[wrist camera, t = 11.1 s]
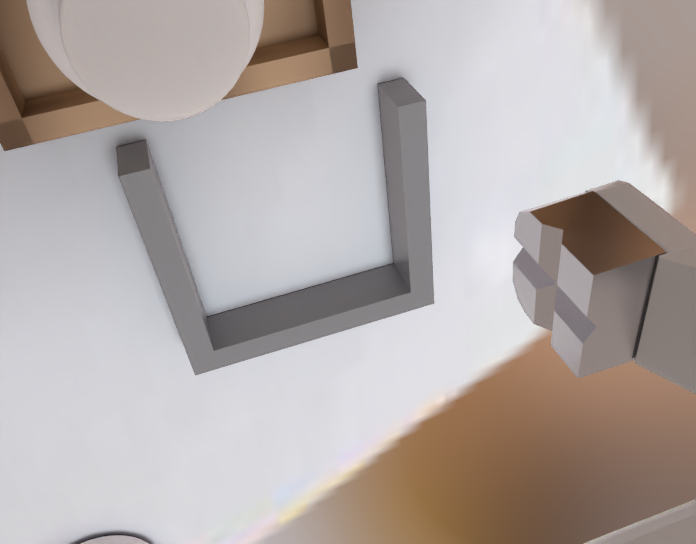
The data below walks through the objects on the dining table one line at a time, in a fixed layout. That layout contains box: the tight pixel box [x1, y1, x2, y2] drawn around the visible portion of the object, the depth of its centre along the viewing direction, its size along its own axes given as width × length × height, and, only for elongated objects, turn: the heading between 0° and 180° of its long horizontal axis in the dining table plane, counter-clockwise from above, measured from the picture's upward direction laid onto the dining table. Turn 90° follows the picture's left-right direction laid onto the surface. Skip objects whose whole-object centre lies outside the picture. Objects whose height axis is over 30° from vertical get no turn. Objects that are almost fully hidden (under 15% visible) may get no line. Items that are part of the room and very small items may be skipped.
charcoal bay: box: [116, 78, 434, 375], centre depth 31 cm, size 12×11×2 cm
